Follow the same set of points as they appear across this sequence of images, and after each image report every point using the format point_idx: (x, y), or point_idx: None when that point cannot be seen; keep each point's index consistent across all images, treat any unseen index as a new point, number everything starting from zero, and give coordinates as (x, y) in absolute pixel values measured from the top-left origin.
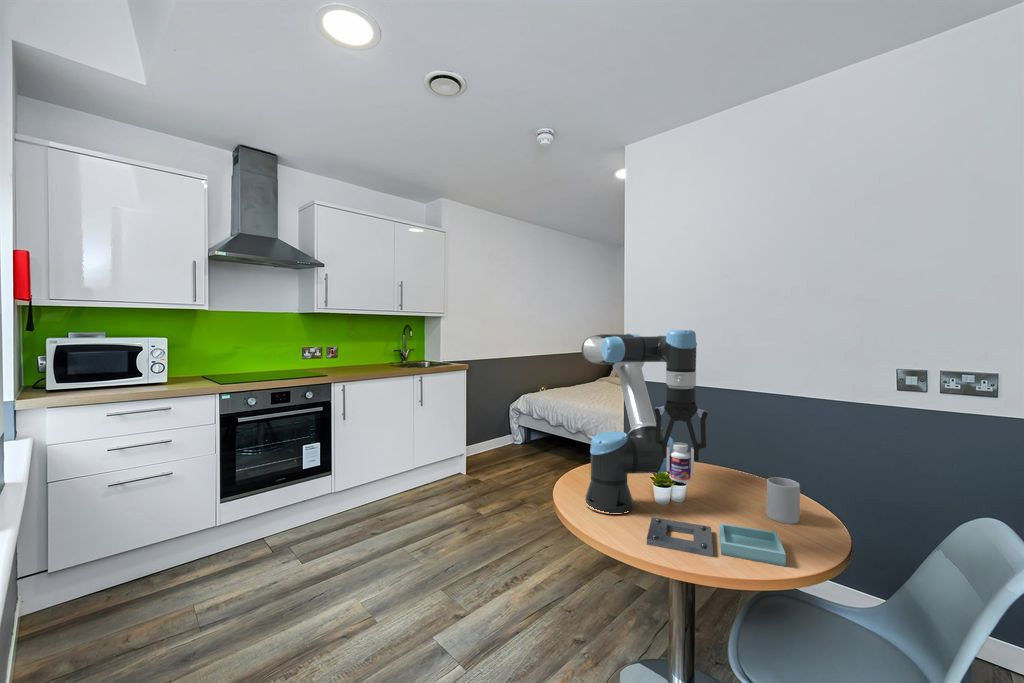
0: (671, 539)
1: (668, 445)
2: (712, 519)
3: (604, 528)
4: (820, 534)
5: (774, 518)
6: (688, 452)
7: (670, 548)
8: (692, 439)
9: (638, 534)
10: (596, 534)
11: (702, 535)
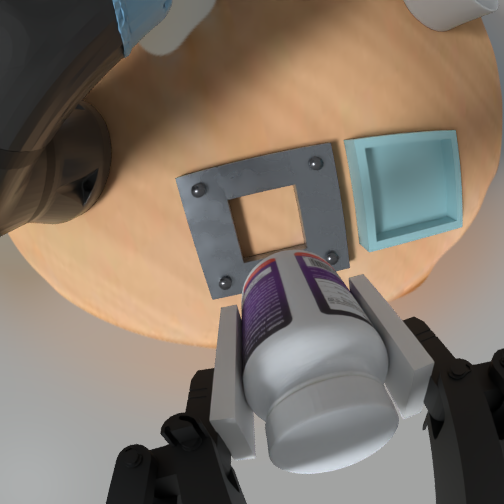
0: None
1: (225, 428)
2: (313, 65)
3: (112, 279)
4: (480, 62)
5: (423, 22)
6: (379, 371)
7: None
8: (442, 471)
9: (179, 262)
10: (117, 311)
11: (321, 206)
